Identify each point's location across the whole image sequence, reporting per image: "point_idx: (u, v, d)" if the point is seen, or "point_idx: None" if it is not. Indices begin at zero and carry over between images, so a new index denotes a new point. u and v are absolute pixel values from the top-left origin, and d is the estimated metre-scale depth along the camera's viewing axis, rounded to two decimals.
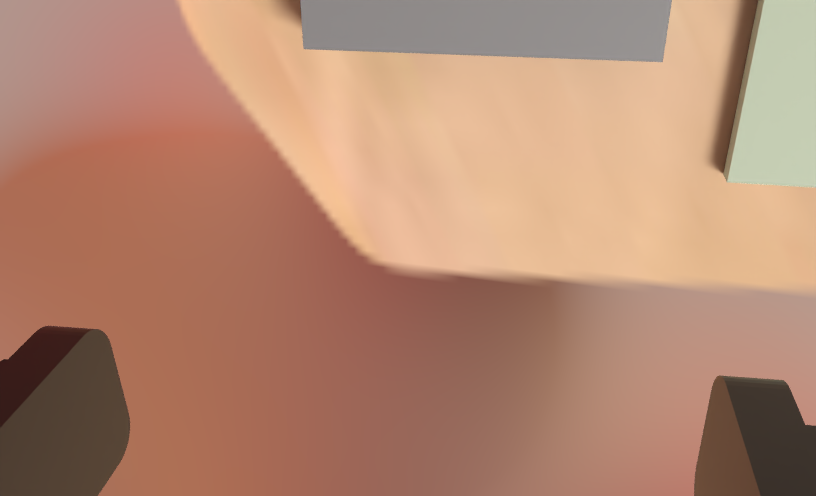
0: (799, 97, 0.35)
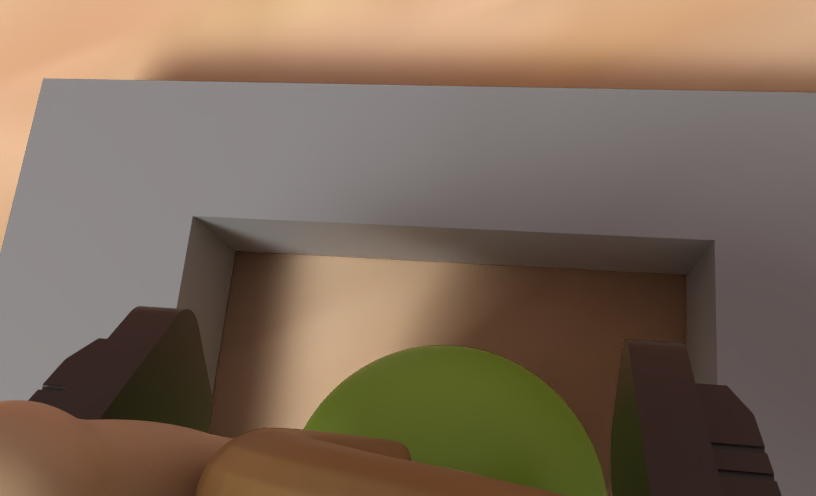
0: None
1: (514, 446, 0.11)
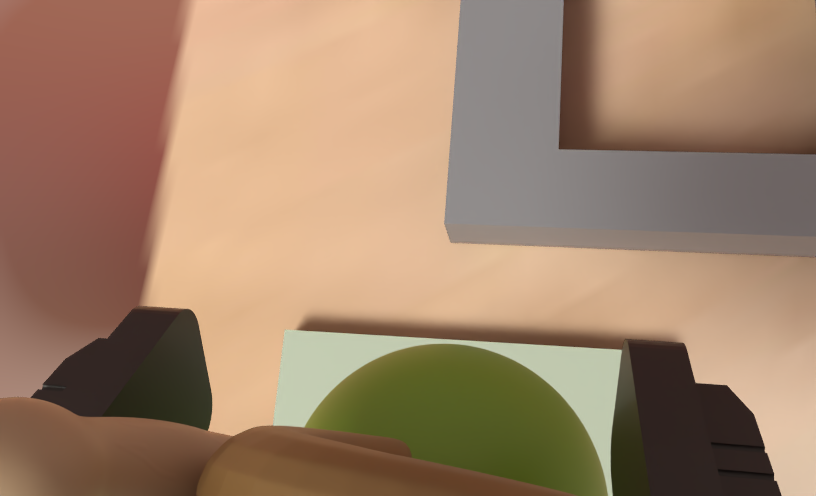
0: None
1: (515, 444, 0.11)
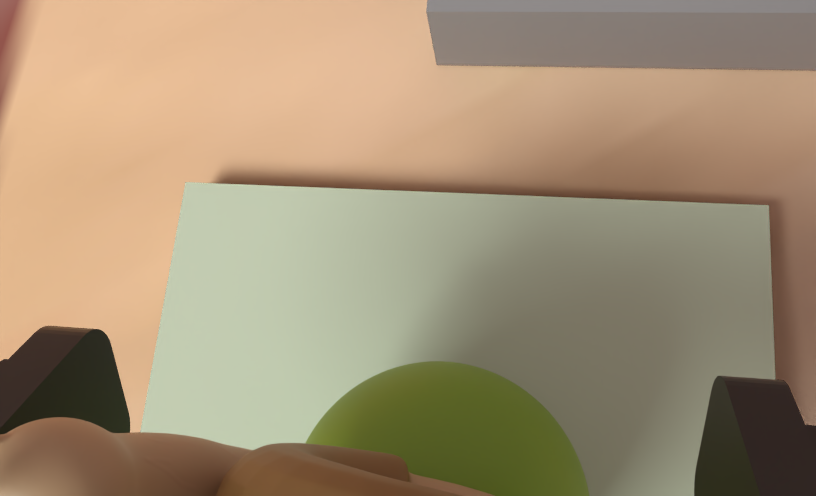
0: (337, 280, 0.18)
1: (505, 460, 0.12)
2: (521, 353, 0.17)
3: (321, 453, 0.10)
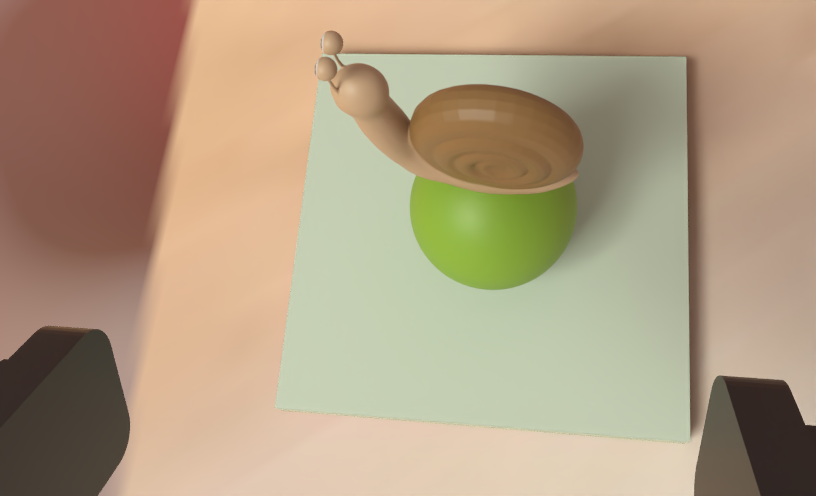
0: None
1: None
2: None
3: None
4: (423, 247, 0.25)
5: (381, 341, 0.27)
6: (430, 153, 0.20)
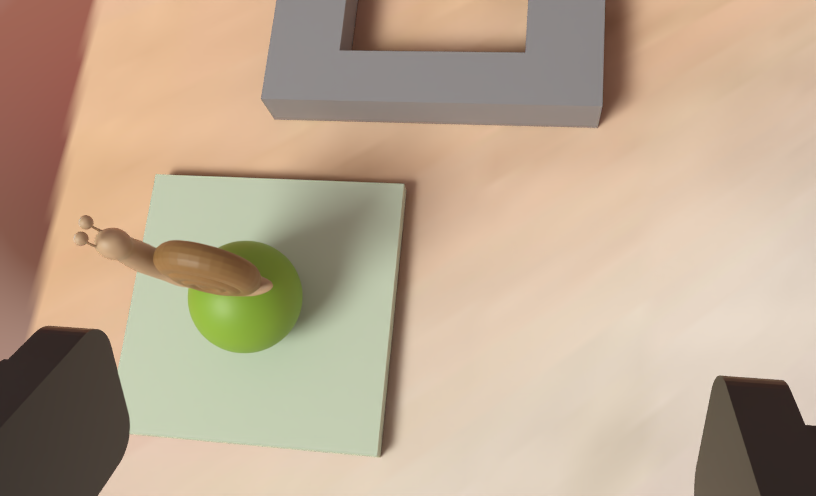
0: (221, 217, 0.42)
1: (257, 266, 0.36)
2: (297, 246, 0.41)
3: None
4: (195, 325, 0.37)
5: (180, 385, 0.40)
6: (168, 276, 0.32)
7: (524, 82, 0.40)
